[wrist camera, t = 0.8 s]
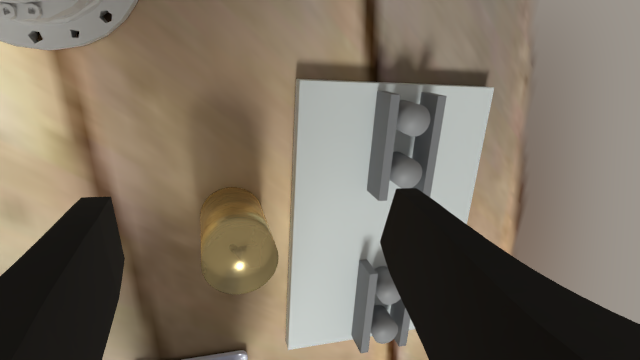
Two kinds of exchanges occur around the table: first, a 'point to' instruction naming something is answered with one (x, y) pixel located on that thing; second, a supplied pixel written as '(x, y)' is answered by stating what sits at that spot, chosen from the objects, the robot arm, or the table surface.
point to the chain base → (369, 196)
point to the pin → (236, 242)
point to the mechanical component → (60, 21)
